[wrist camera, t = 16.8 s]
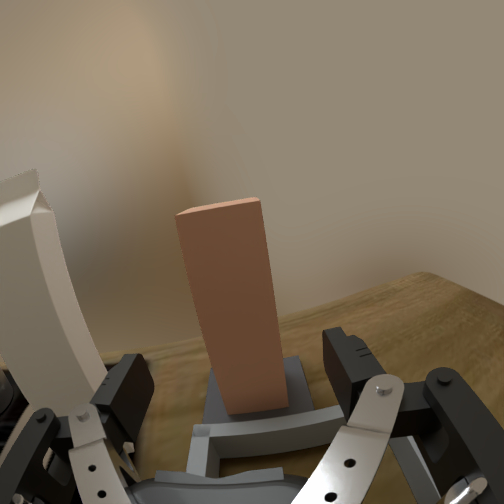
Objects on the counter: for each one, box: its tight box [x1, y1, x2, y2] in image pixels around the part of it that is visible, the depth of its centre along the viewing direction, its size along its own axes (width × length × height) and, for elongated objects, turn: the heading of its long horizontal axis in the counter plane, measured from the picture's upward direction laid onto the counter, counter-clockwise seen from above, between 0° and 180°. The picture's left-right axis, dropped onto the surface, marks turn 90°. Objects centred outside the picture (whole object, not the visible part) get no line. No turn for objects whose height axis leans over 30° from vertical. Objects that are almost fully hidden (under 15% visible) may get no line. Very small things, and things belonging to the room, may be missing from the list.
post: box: [175, 197, 289, 415], centre depth 20 cm, size 5×5×16 cm
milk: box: [0, 169, 134, 453], centre depth 14 cm, size 6×6×22 cm
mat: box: [202, 356, 315, 424], centre depth 22 cm, size 9×9×1 cm
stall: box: [186, 405, 441, 504], centre depth 11 cm, size 14×11×3 cm
